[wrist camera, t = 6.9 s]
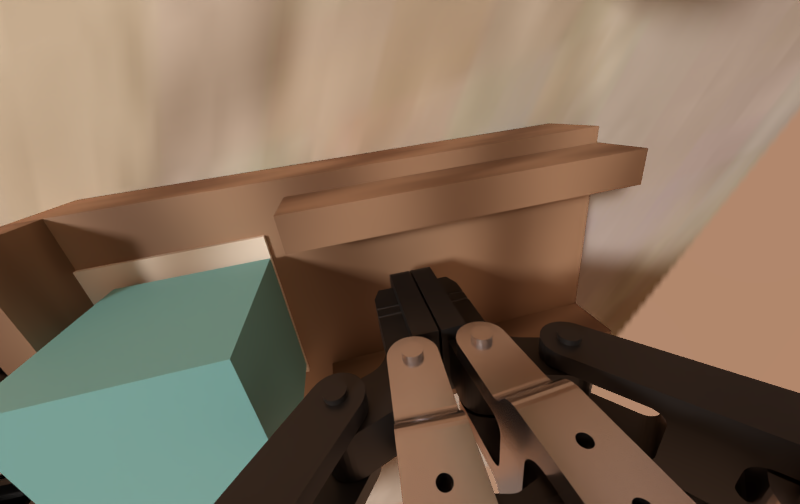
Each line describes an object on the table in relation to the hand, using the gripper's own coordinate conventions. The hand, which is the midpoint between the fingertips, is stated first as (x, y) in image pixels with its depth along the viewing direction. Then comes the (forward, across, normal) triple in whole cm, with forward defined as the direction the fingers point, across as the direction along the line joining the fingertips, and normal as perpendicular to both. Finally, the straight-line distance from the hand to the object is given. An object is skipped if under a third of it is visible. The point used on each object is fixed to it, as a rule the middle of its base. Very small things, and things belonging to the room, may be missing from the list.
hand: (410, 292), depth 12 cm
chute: (+4, +2, 0) cm, 5 cm away
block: (+1, +7, 0) cm, 7 cm away
